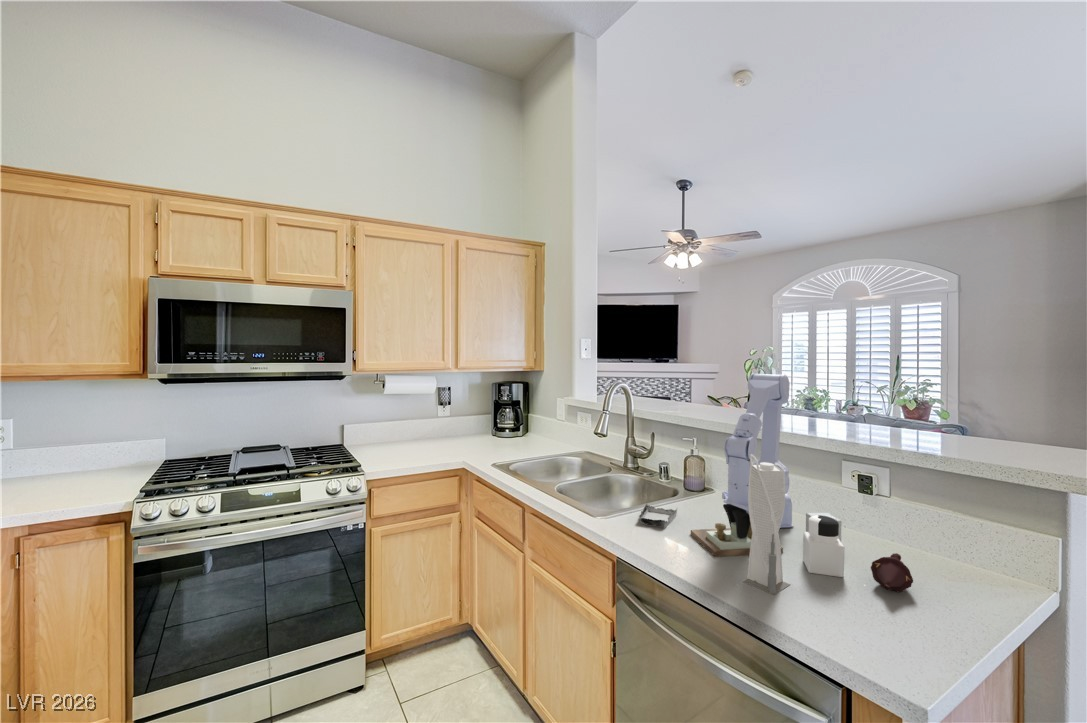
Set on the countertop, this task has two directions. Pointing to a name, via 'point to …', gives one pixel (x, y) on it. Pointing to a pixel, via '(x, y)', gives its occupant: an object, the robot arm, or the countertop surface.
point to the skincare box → (822, 515)
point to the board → (712, 548)
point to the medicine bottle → (823, 547)
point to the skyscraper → (766, 526)
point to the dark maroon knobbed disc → (892, 573)
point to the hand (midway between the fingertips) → (738, 534)
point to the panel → (729, 535)
